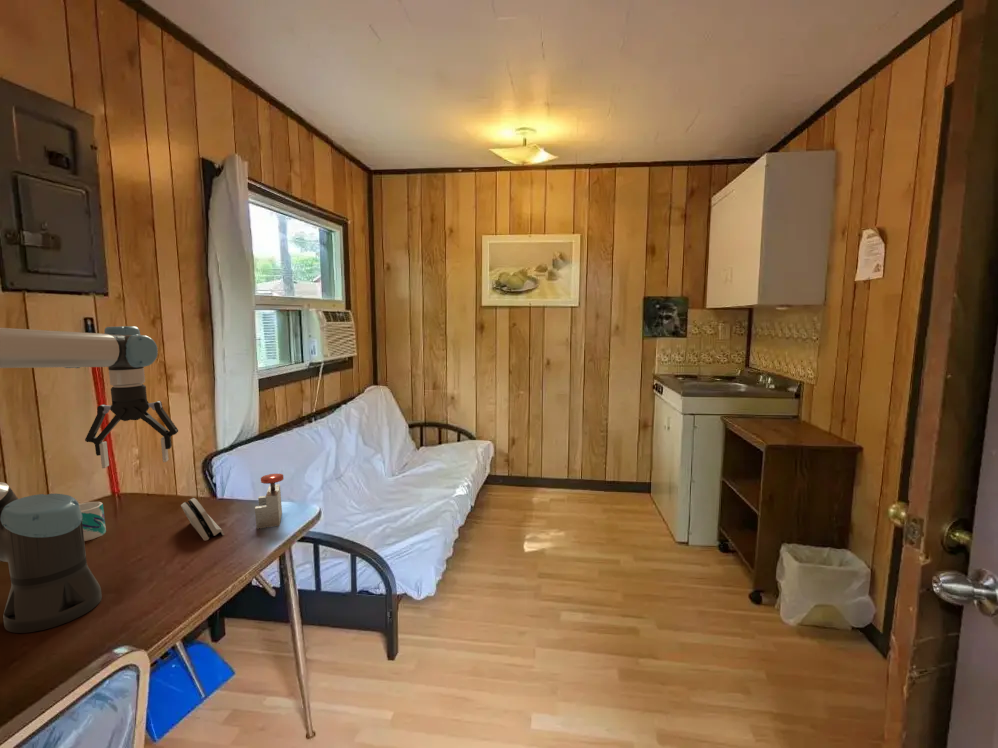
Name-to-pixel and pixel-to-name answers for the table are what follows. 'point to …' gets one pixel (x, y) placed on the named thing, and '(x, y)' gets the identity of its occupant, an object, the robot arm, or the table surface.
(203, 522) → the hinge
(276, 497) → the valve body
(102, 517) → the mug
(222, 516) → the table surface
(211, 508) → the table surface
